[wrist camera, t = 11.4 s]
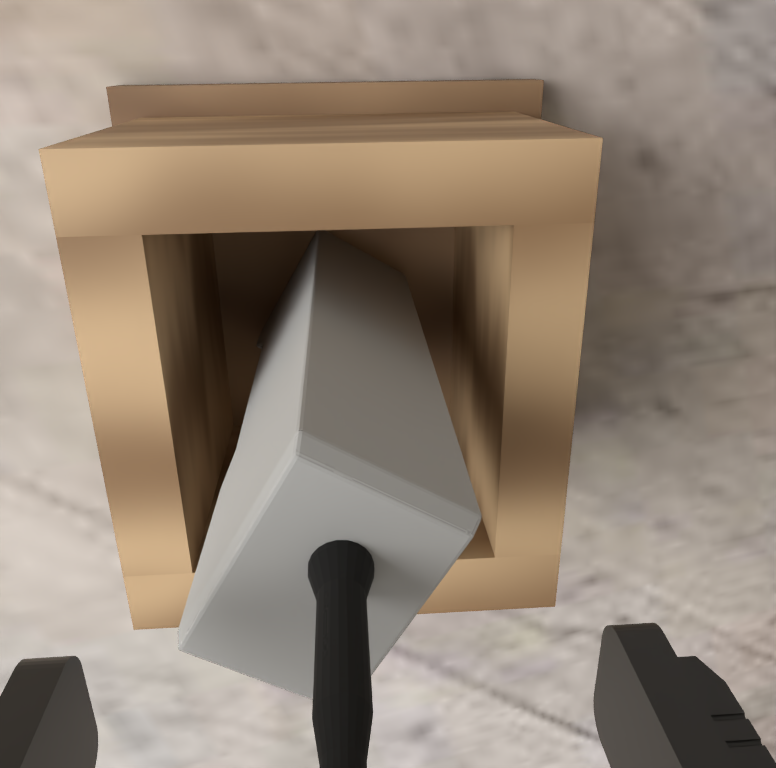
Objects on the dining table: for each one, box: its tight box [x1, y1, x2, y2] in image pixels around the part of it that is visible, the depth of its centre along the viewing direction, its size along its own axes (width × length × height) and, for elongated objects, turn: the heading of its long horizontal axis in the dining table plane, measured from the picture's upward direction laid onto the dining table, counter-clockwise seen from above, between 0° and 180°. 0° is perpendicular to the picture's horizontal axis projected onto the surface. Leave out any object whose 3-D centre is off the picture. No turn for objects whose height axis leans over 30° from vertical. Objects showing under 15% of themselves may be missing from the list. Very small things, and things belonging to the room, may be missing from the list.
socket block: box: [39, 79, 603, 630], centre depth 25 cm, size 16×15×11 cm
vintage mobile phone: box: [178, 230, 482, 768], centre depth 17 cm, size 4×5×25 cm
